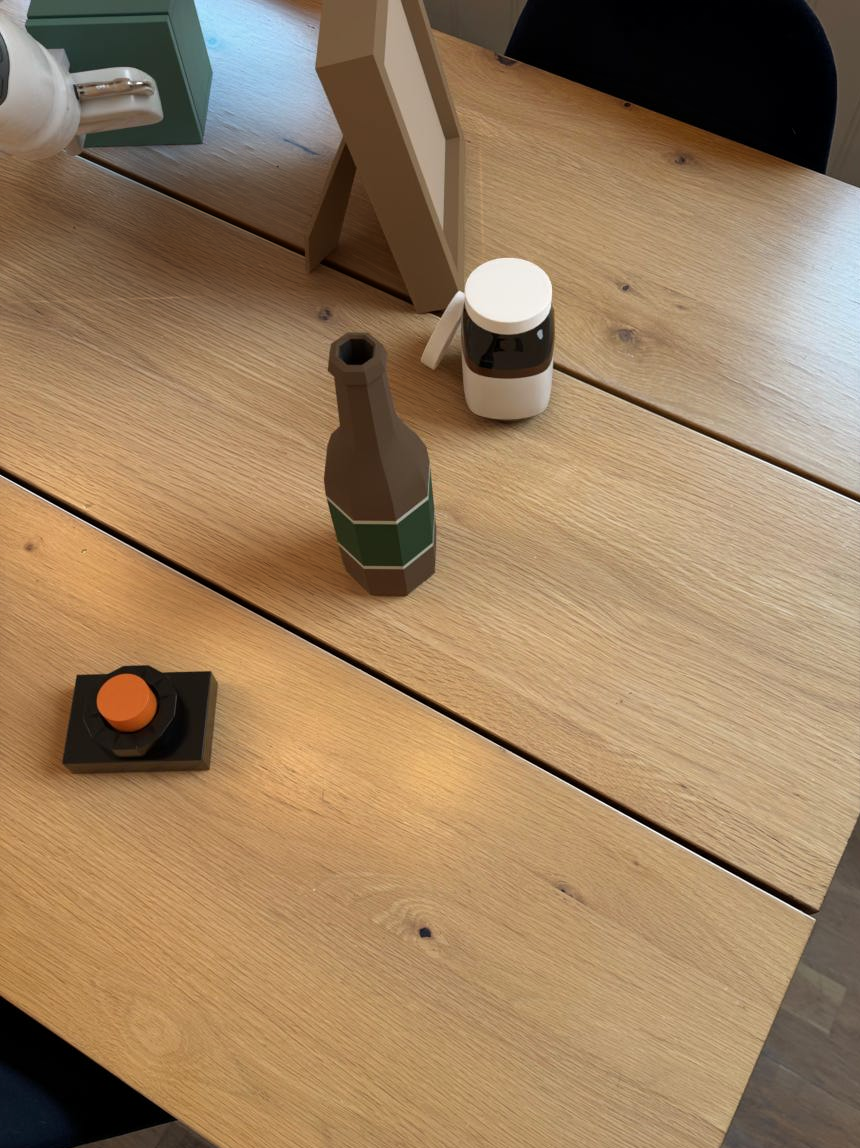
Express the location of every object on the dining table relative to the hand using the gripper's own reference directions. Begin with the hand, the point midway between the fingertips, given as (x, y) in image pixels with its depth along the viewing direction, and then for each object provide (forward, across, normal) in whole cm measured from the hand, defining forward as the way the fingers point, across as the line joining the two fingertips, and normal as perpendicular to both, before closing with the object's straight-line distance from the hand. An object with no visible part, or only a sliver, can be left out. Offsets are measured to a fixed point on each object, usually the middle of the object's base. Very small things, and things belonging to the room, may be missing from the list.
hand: (62, 126), depth 99 cm
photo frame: (-4, -28, +14) cm, 32 cm away
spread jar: (-19, -34, +28) cm, 48 cm away
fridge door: (+6, -5, +3) cm, 8 cm away
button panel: (-38, -3, +47) cm, 60 cm away
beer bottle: (-30, -23, +40) cm, 55 cm away
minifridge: (+12, -6, -3) cm, 14 cm away
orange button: (-40, -3, +44) cm, 60 cm away
